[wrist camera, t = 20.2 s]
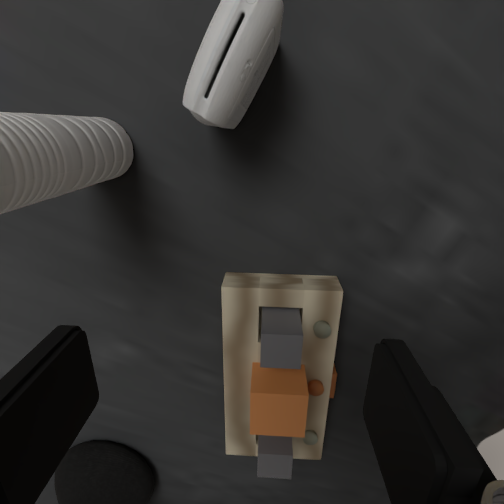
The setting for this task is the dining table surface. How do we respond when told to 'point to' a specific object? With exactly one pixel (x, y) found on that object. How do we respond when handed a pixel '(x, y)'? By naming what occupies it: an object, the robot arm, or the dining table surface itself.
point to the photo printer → (233, 60)
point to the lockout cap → (278, 401)
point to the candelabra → (103, 475)
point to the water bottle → (57, 155)
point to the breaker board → (249, 350)
